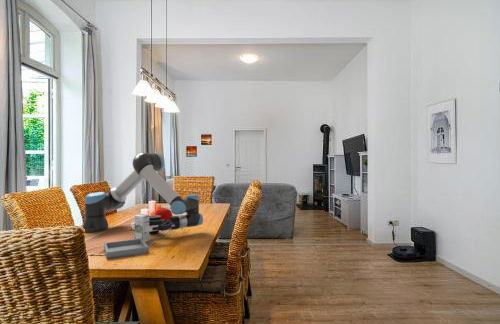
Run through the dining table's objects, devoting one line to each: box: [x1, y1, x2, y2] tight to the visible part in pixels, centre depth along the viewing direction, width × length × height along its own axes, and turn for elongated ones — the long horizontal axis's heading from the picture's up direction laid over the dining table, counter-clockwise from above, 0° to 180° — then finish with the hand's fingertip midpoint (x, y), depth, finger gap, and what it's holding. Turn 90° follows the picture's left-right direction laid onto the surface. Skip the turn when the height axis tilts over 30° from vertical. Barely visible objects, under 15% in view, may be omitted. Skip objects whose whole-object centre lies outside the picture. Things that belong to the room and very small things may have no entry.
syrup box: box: [134, 213, 150, 243], centre depth 166 cm, size 6×6×14 cm
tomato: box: [154, 207, 173, 220], centre depth 203 cm, size 12×12×13 cm
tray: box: [103, 238, 149, 260], centre depth 148 cm, size 18×18×3 cm
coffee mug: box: [149, 214, 160, 235], centre depth 184 cm, size 12×9×10 cm
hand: (141, 227), depth 165 cm, fingers open, 13 cm apart
